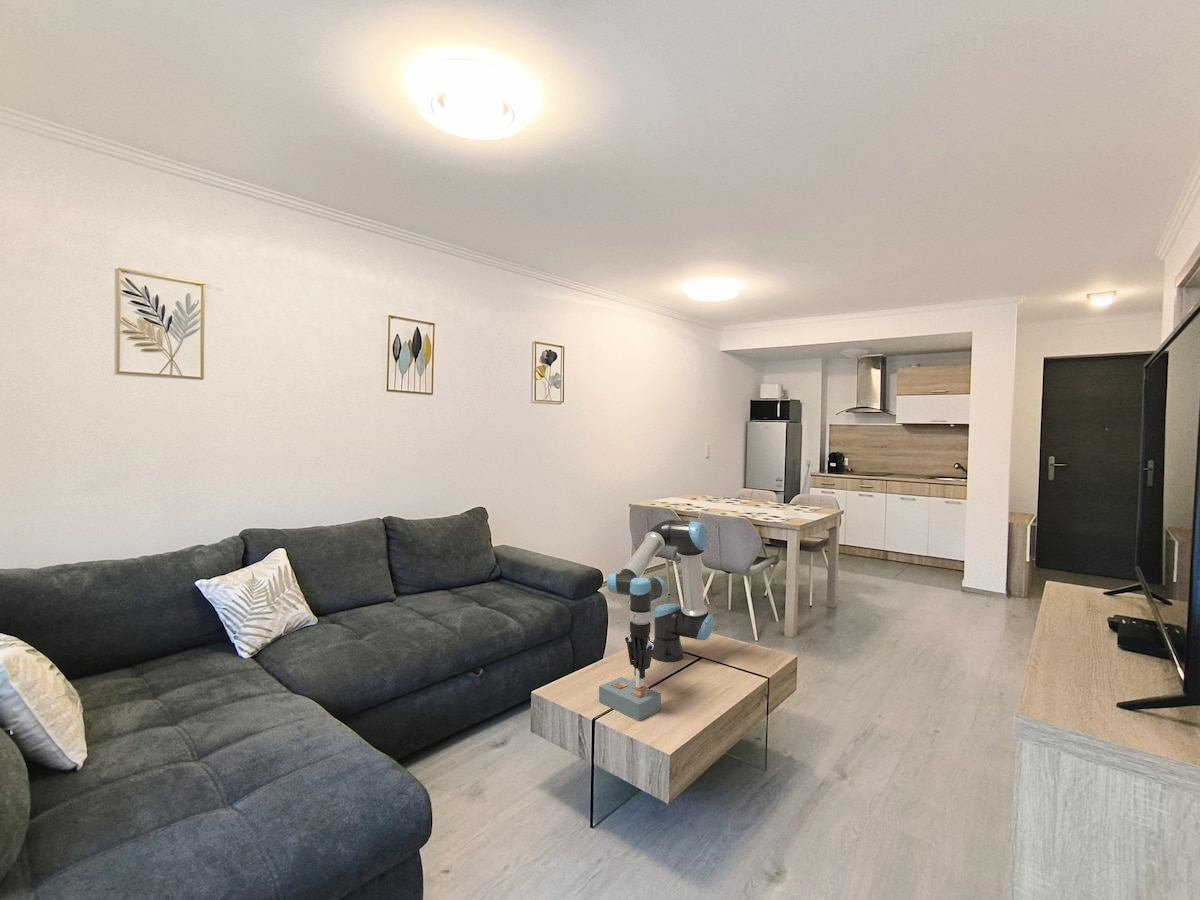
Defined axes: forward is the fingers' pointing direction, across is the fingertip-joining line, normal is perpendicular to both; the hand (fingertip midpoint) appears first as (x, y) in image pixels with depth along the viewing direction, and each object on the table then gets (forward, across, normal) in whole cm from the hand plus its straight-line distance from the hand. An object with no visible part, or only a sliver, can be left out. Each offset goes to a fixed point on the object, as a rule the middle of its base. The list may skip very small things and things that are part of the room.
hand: (639, 686), depth 203 cm
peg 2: (+6, 0, 0) cm, 6 cm away
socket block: (+9, -5, 0) cm, 10 cm away
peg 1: (+9, -10, 0) cm, 13 cm away
